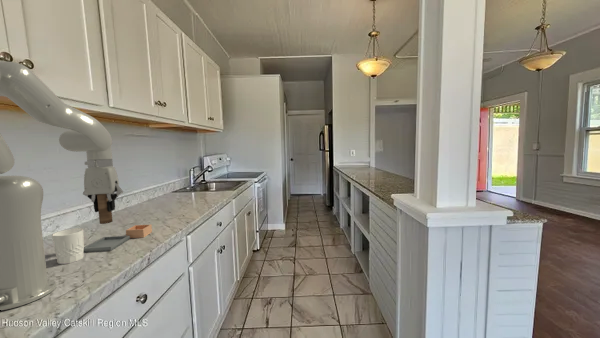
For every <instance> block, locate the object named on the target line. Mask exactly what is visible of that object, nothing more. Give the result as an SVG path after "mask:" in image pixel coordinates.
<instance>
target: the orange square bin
mask: <svg viewBox="0 0 600 338" xmlns="http://www.w3.org/2000/svg"><path fill="white" fill-rule="evenodd" d="M152 228H153V227H152V224H137V225H136V224H134V225H133V226H131V227H129V228H127V229H126V230H125V236H130V239H139V238H140V239H141V238H143V239H144V238H145V237H147V236H149V235H151V234H152V233H153V229H152Z"/></svg>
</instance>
